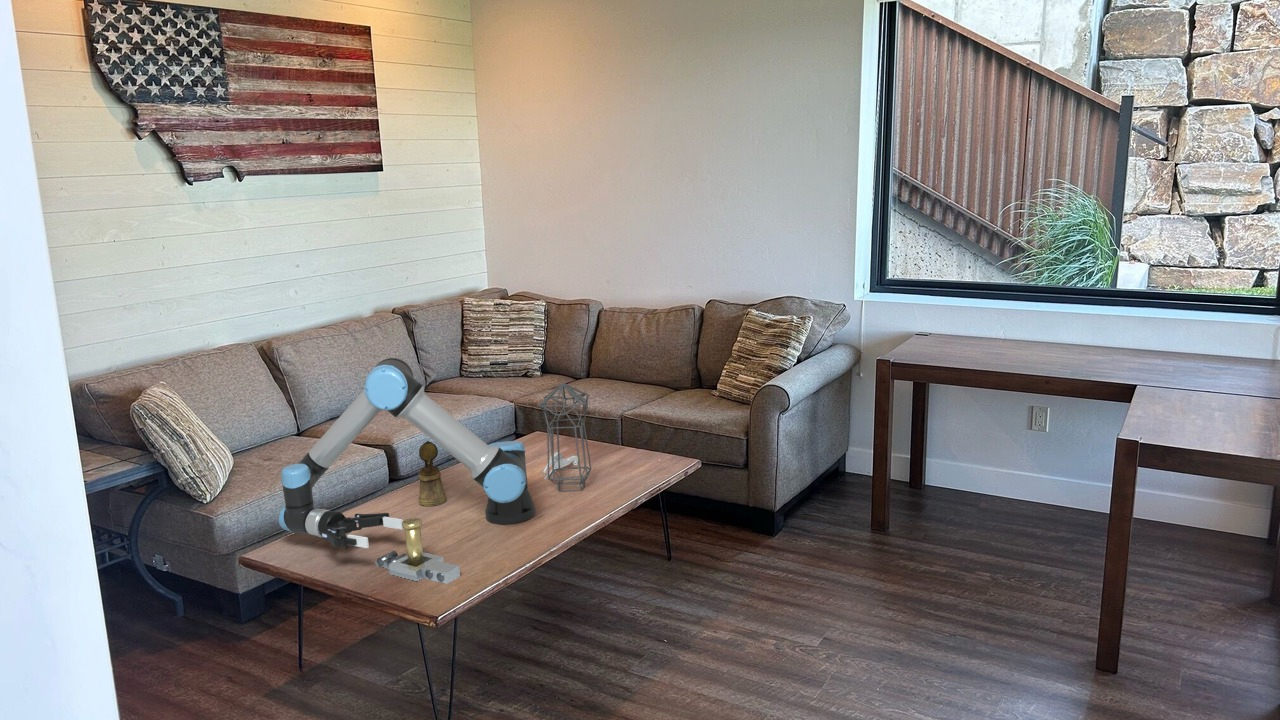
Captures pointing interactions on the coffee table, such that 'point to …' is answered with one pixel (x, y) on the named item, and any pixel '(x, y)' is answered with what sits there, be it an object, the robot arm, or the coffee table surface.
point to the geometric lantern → (585, 403)
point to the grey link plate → (419, 567)
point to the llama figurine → (562, 462)
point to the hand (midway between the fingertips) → (385, 533)
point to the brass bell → (430, 477)
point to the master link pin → (413, 541)
